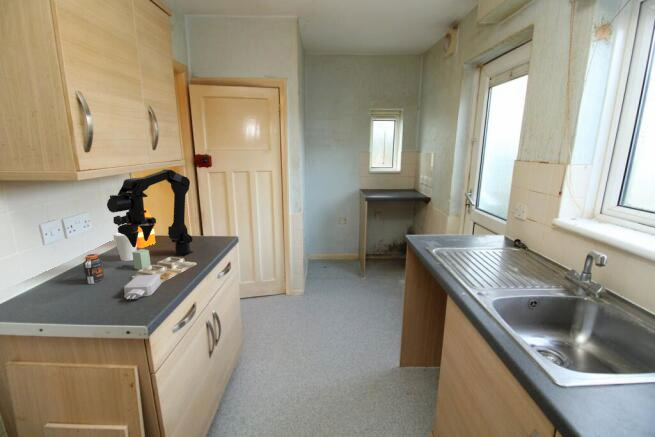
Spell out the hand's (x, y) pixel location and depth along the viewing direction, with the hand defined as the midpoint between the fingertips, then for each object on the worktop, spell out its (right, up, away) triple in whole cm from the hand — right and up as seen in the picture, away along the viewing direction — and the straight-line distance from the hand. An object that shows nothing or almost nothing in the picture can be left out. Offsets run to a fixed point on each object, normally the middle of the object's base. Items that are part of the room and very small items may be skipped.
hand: (140, 243), depth 133 cm
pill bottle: (-13, -15, -9) cm, 21 cm away
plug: (-2, -11, +6) cm, 13 cm away
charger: (+12, -18, -19) cm, 29 cm away
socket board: (+10, -12, +2) cm, 16 cm away
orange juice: (-21, -4, +37) cm, 43 cm away
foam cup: (-16, -9, +16) cm, 24 cm away
